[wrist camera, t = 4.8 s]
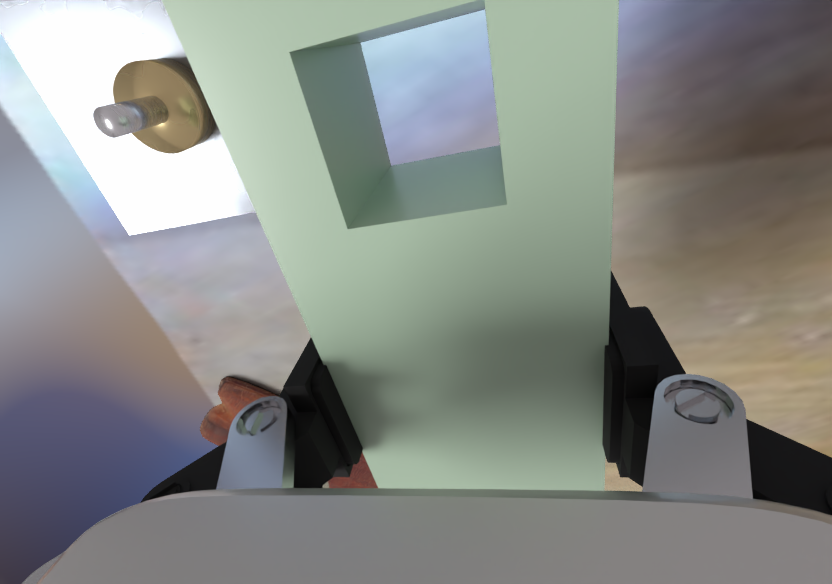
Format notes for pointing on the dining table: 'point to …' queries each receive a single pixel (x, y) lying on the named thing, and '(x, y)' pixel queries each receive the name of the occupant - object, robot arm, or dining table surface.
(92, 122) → the base plate
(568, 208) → the slotted bar
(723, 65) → the dining table surface
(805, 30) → the dining table surface
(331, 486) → the wooden tablet
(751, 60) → the dining table surface
